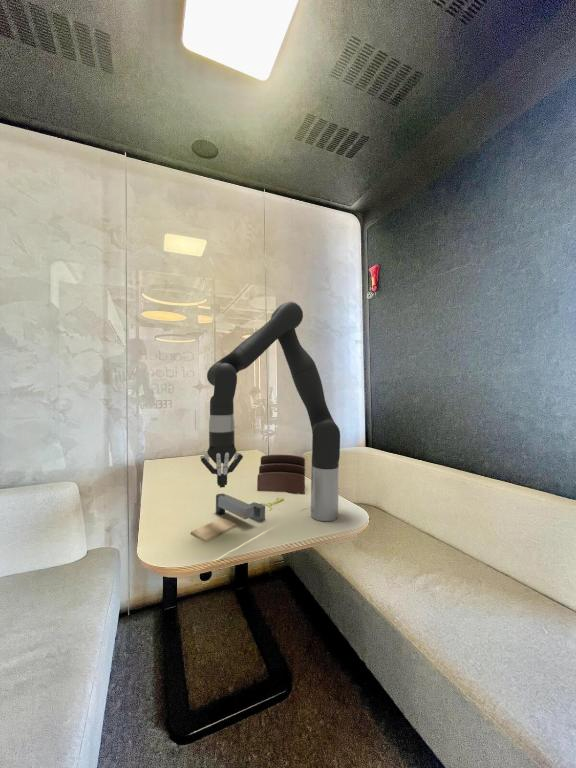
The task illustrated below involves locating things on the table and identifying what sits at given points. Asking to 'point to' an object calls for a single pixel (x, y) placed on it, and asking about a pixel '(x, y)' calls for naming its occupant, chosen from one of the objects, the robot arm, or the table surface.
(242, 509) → the grey handle
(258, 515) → the block
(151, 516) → the table surface
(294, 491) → the letter holder
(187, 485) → the table surface
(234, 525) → the brown rectangular panel
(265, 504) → the key
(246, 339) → the robot arm
